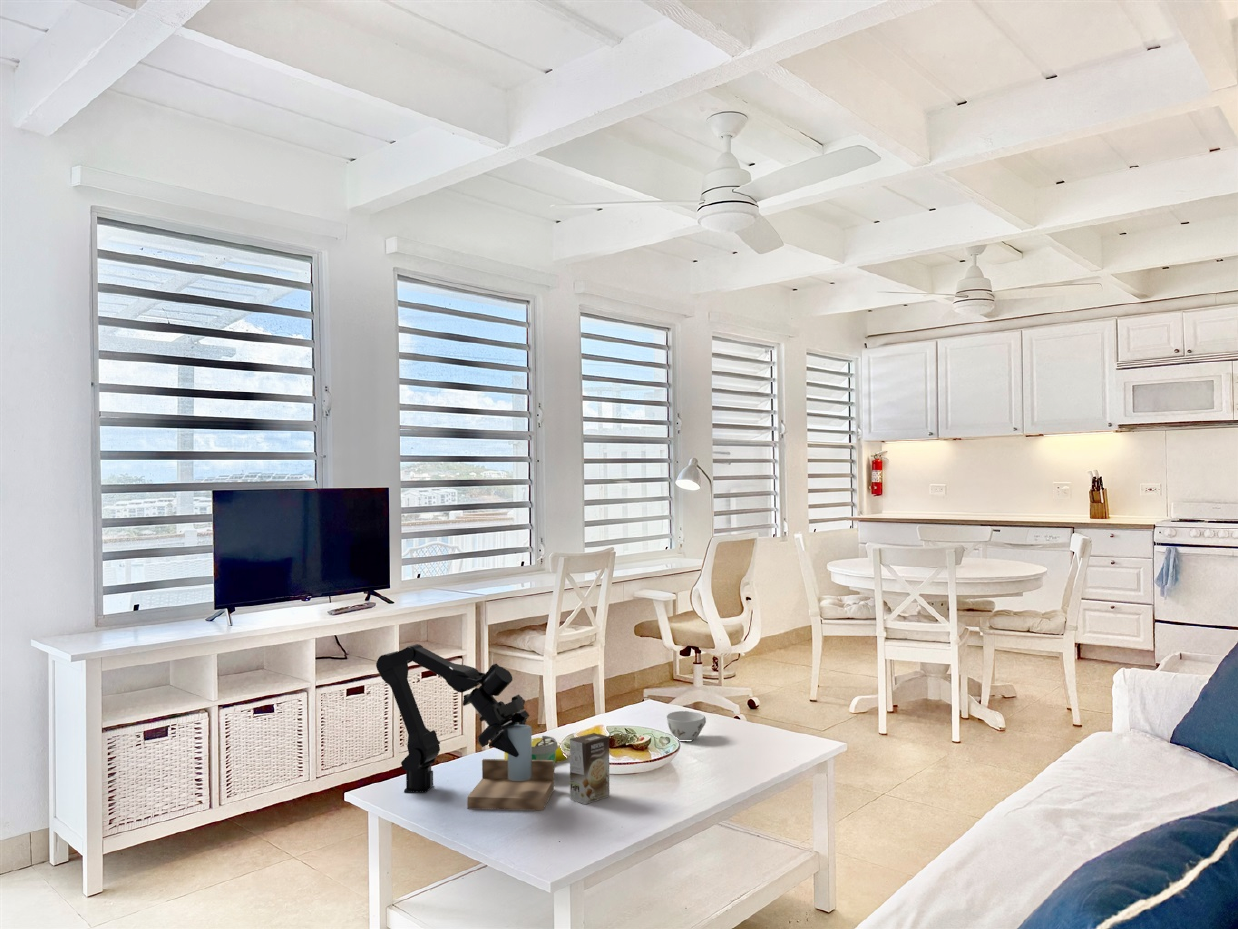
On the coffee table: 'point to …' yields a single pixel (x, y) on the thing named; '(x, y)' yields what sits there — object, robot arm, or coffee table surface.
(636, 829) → the coffee table surface
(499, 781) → the shelf
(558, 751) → the yellow bowl
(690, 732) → the teacup
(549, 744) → the food container
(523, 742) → the frosted glass cup
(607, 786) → the coffee box
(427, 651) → the robot arm
